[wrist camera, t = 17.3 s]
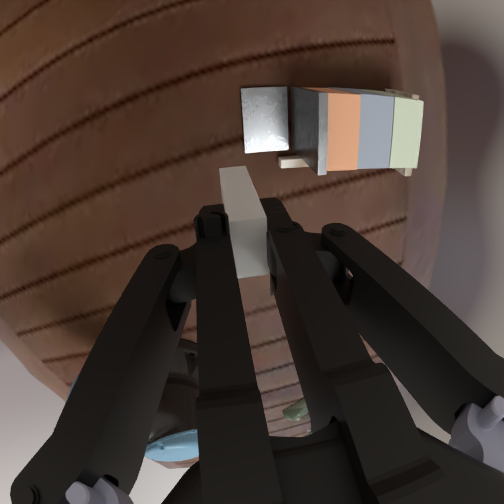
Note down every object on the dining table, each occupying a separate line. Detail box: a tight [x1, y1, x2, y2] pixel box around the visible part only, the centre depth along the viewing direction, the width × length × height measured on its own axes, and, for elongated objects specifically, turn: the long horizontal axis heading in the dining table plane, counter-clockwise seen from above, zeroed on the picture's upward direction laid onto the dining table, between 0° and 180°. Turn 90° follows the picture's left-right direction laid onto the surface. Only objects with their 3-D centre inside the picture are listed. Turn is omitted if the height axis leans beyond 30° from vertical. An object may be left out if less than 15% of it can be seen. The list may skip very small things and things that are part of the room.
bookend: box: [241, 87, 328, 175], centre depth 33 cm, size 8×9×11 cm
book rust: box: [302, 87, 361, 171], centre depth 35 cm, size 4×9×10 cm, turn 3°
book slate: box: [328, 87, 394, 169], centre depth 35 cm, size 4×9×10 cm, turn 3°
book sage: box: [360, 89, 424, 168], centre depth 35 cm, size 4×9×10 cm, turn 3°
